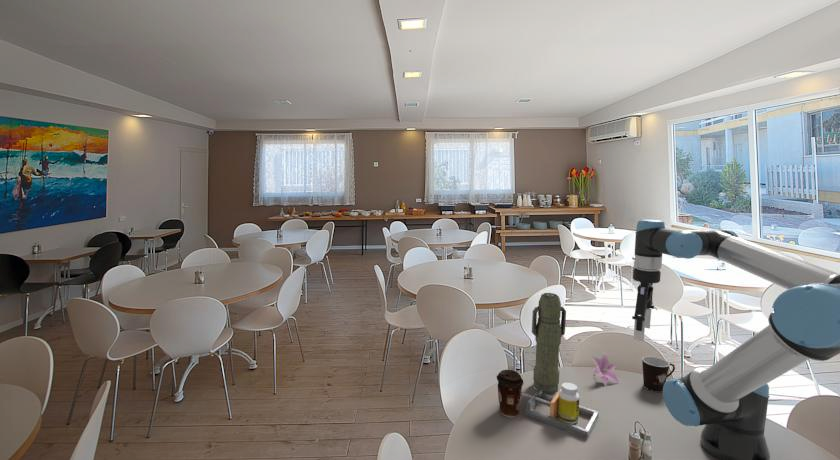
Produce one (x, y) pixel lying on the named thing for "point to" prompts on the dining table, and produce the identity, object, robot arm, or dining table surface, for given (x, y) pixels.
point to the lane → (557, 422)
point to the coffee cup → (509, 392)
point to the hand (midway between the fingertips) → (641, 333)
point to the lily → (604, 369)
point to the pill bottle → (568, 403)
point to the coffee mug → (655, 372)
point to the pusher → (553, 404)
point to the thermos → (548, 341)
